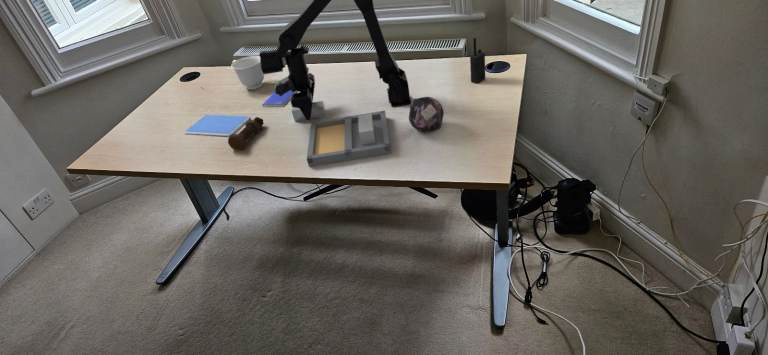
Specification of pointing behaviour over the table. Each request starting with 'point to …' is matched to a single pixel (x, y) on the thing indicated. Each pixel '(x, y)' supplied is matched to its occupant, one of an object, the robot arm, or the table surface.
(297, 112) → the block
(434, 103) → the mineral specimen
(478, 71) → the walkie-talkie
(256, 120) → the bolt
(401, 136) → the table surface
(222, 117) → the light blue book
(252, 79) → the teacup
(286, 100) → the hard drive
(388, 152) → the grey divided tray
